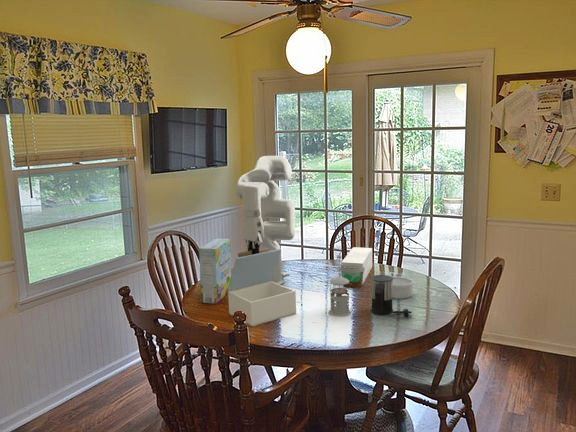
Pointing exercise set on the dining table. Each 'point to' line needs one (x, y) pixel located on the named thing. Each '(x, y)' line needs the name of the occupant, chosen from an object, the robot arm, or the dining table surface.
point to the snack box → (215, 270)
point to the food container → (353, 276)
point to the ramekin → (402, 287)
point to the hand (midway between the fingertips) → (253, 256)
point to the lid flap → (253, 268)
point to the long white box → (359, 260)
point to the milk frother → (383, 295)
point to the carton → (263, 302)
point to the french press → (339, 297)
